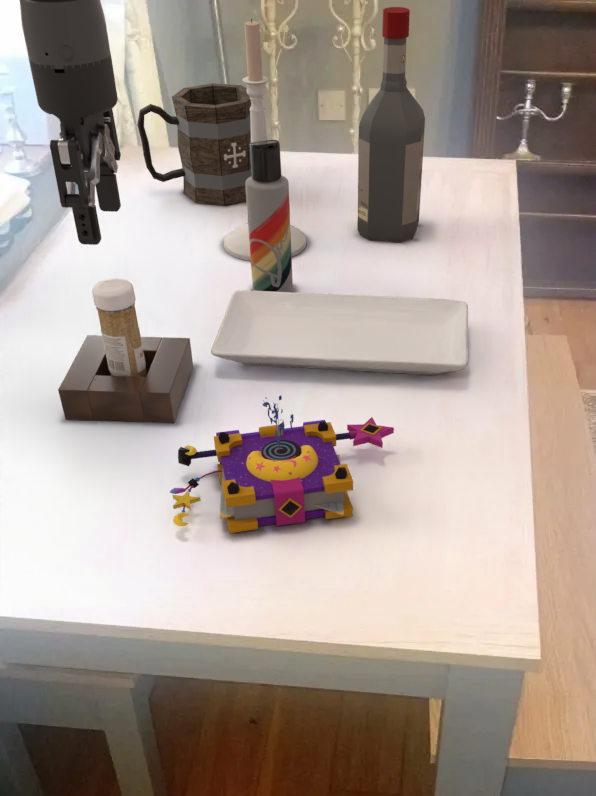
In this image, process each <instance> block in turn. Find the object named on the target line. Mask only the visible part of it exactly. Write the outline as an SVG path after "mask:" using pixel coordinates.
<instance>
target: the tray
mask: <svg viewBox="0 0 596 796" xmlns="http://www.w3.org/2000/svg"><path fill="white" fill-rule="evenodd" d="M468 324H469V304H468V303H467V302H466V301H462V300H457V299H450V298H449V299H448V298H433V297H416V296H415V297H412V296H391V295H388V296H387V295H366V294H365V295H364V294H363V295H361V294H340V293H339V294H337V293H336V294H335V293H314V292H272V291H253V289H252V290H249V289H238V290H235V291H234V292H233V293H232V294H231V297H230V299H229V302H228V305H227V307H226V309H225V313H224V315H223V318H222V321H221V323H220V326H219V328H218V330H217V333H216V335H215V338H214V340H213V343H212V346H211V349H210V354H211V356H214V357H216V358H220V359H224V360H228V361H233V362H240V363H242V365H245V366H246V365H247V366H261V367H263V366H264V367H278V368H279V367H280V368H281V367H282V368H302V369H318V370H319V369H322V370H339V371H340V370H341V371H358V372H374V373H389V374H390V373H393V374H408V375H422V376H423V375H425V376H426V375H427V376H435V375H438V374H440V373H448V372H449V373H450V372H454V371H458V370H463V369H465V368H466V367H467V366H468V362H469V347H468V330H469V329H468V326H469V325H468Z"/></svg>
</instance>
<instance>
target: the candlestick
mask: <svg viewBox="0 0 596 796" xmlns="http://www.w3.org/2000/svg"><path fill="white" fill-rule="evenodd" d="M260 27H261V26H260V22H259V21H253V18H251V19H250V21H246V22H244V36H245V51H246V54H245V55H246V67H247V69H246V70H247V76H245V77H243V78H242V82H243V83H244V84H245V85H246V88H247V90H246V92H247V94H248V95H249V96H250V100H251V107H250V125H251V143H253V142H260V141H266V140H268V133H267V125H266V124H267V123H266V113H265V107H264V103H263V99H264V95H265V94H266V87H265V86H266V83H267V82H268V81H269V78H268V77H267V76H263V63H262V46H261V45H262V44H261V28H260ZM290 230H291V255H292V257H295V256H297V255H298V254H300V253H302V252H303V251H304V250H305V248H306V247H307V236H306V235H305V233H304V232H303V231H302V230H300V229H299V228H298V227H296V226H295V225H292V224H290ZM223 247H224V250H225V252H227V254H229V256H233V257H235V258H237V259H239V260H244V261H249V262H251V257H250V243H249V229H248V222H246V223H245V222H244V223H243V224H241V225H238V226H236V227H234V228H233V229H231V230H230V231H229V232H228V233H227V235H225V237H224V239H223Z"/></svg>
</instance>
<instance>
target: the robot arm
mask: <svg viewBox="0 0 596 796" xmlns="http://www.w3.org/2000/svg"><path fill="white" fill-rule="evenodd" d="M18 2H19V3H18V4H19V12H20V13H19V14H20V23H21V29H22V35H23V39H24V43H25V48H26V54H27V58H28V63H29V67H30V72H31V76H32V82H33V86H34V92H35V96H36V100H37V104H38V105H37V106H38V107H39V108H40V110H41V111H42V112H44V113H45V114H48V115H53V116H55V117H56V118H57V119H58V120H59V127H60V128H59V129H60V131H59V133H58V139H51V140H50V142H49V149H50V154H51V159H52V163H53V164H52V165H53V171H54V176H55V180H56V186H57V191H58V196H59V203H60V206H61V207H62V208H65V209H66V208H71V211H72V215H73V220H74V225H75V230H76V234H77V235H76V236H77V240H78V242H79V243H80V244H81V245H91V246H94V245H95V246H96V245H99V244H100V242H101V241H102V234H101V229H100V228H101V227H100V222H99V218H98V217H99V215H98V211H97V206H96V196H97V202H98V208H99V209H100V211H102V212H112V213H113V212H114V213H115V212H116V213H117V212H118V211H119V210H120V209H121V207H122V204H121V196H120V191H119V185H118V179H117V173H118V168H119V165H118V162H117V161H120V160H121V156H122V154H121V151H120V144H119V139H118V133H117V127H116V122H115V116H114V110H113V109H114V108H115V106H117V104H118V99H119V97H118V91H117V85H116V78H115V72H114V65H113V59H112V52H111V47H110V40H109V34H108V26H107V21H106V16H105V12H104V9H103V6H102V2H101V0H18ZM76 186H77V190H78V193H76Z"/></svg>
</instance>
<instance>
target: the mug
mask: <svg viewBox="0 0 596 796" xmlns="http://www.w3.org/2000/svg"><path fill="white" fill-rule="evenodd" d="M246 90H247V87H245V86H243V85H242V84H230V83H229V84H227V83H216V82H215V83H214V82H212V83H205V84H199V85H194V86H193V85H192V86H187V87H183V88H181V89H180V90H179V91H177V92H176V93H175V94H174V95H172V96H171V100H172V104H173V108H174V113H175V116H171V115H170V114H169V113H168V112H166V110H164V109H163V108H162V107H161V106H158V105H155V104H152V103H149V104H148V105H146V106H144V107H142V108H140V109H139V112H138V117H137V118H138V119H137V124H136V125H137V126H136V127H137V130H138V133H139V134H138V135H139V139H140V142H141V147H142V153H143V159H144V162H145V163H144V164H145V166H146V169H147V170H148V172H149V173H150V175H151V177H152V179H154V180H157V181H159V182H162V183H165V182H168V181H171V180H174V179H178V178H183V195H185V196H186V197H187V198H188V199H190V200H191V201H192V202H194V203H195V204H202V205H211V206H221V207H222V206H223V207H225V206H231V205H235V204H239V203H245V202H246V186H245V183H246V180H247V179H248V178H249V177H251V176H252V175H251V157H250V143H251V125H250V107H251V100H250V96H249V95H248V94H247V92H246ZM149 113H153V114H156V115H158V116H159V117H160V118H162V119H163V121H165V122H166V123H167V124H169V125H173V126H174V125H176V128H177V131H176V132H177V149H178V153H179V158H180V162H181V168H177V169H173V170H170V171H168V172H166V173H161V172H158V171H156V170H155V166H154V165H153V160H152V155H151V149H150V142H149V138H148V135H147V132H146V128H145V116H146V115H147V114H149Z"/></svg>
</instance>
